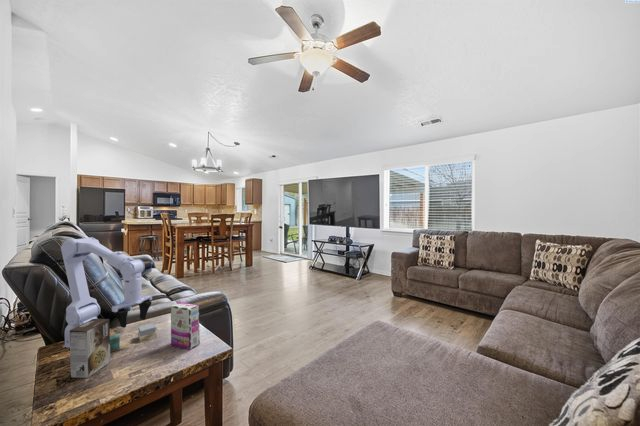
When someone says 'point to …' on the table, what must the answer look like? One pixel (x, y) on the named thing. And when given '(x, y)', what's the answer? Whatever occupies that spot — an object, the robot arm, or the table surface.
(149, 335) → the base block
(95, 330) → the coffee box
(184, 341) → the candy bar box
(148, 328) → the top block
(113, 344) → the cube
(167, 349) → the table surface
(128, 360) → the table surface
